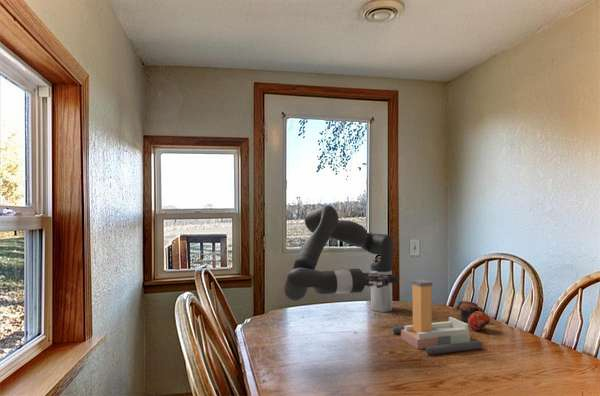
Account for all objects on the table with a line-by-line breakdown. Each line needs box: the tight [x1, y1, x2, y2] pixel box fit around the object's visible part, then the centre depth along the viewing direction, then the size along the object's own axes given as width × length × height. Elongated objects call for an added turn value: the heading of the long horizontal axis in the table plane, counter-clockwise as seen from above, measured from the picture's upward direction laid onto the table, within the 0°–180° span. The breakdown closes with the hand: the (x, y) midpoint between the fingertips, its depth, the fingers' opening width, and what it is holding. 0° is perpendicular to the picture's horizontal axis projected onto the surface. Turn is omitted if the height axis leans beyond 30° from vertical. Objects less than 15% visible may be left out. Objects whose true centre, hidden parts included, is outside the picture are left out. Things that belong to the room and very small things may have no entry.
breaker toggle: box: [411, 278, 433, 333], centre depth 129 cm, size 4×5×17 cm
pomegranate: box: [467, 311, 491, 334], centre depth 141 cm, size 7×7×10 cm
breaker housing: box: [400, 316, 471, 350], centre depth 130 cm, size 20×10×6 cm, turn 106°
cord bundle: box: [392, 325, 405, 335], centre depth 140 cm, size 20×2×2 cm, turn 106°
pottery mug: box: [455, 300, 484, 322], centre depth 154 cm, size 12×10×8 cm
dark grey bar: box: [425, 340, 483, 356], centre depth 121 cm, size 20×2×2 cm, turn 106°
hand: (395, 278), depth 126 cm, fingers closed
